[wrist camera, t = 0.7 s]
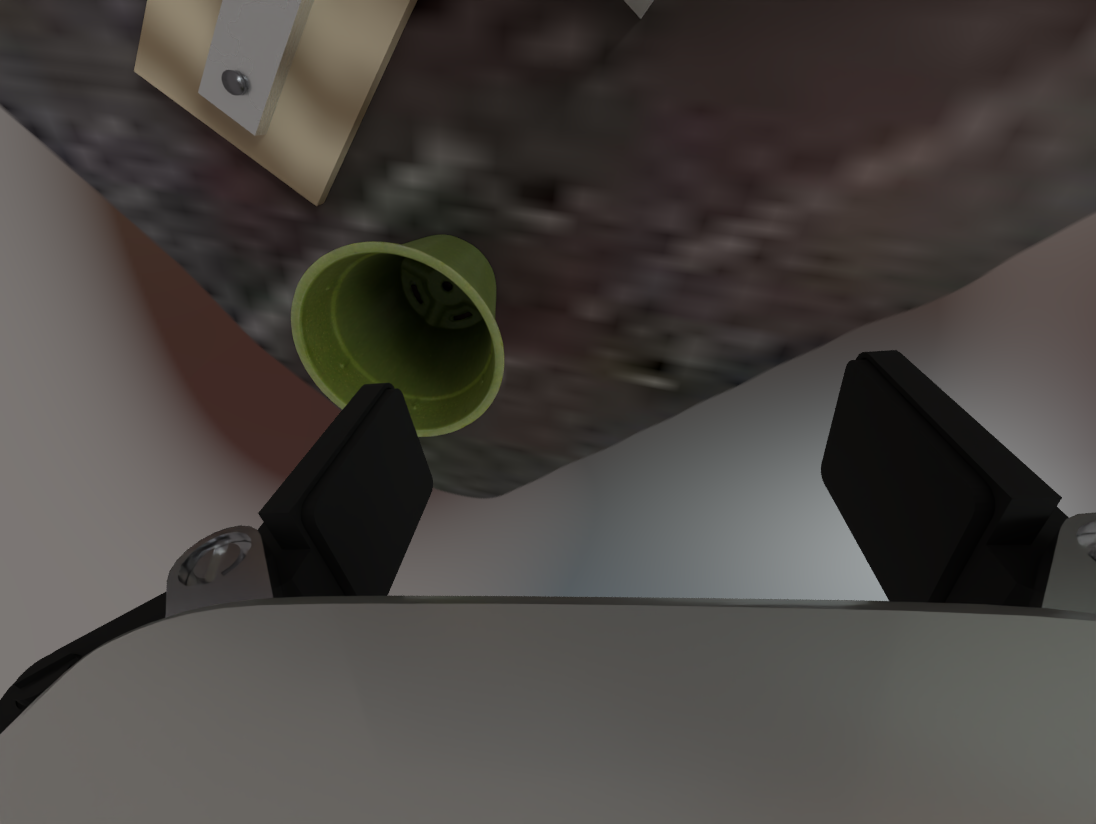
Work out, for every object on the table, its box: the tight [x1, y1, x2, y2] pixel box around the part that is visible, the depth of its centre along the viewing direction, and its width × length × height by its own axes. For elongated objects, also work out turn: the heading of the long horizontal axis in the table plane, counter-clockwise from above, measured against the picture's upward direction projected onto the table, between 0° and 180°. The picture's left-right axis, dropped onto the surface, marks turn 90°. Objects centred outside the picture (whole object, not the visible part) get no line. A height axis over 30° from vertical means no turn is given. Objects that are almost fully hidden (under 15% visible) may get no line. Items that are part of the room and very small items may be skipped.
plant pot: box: [291, 235, 504, 437], centre depth 31 cm, size 12×12×11 cm
